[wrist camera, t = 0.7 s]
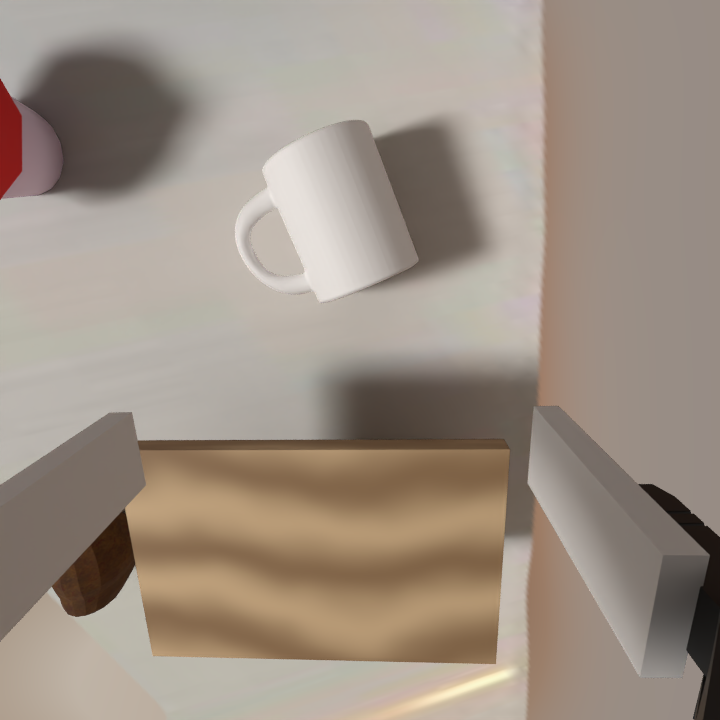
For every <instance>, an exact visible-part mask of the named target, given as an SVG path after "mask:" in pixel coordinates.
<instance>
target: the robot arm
mask: <svg viewBox="0 0 720 720" xmlns="http://www.w3.org/2000/svg"><path fill="white" fill-rule="evenodd" d="M528 485H529V487H530V488H531V490H532V492H533V493H534V495H535V497H536V499H537V500H538V502H539V504H540V506H541V507H542V509H543V511H544V512H545V514H546V516H547V518H548V519H549V521H550V523H551V525H552V526H553V528H554V530H555V531H556V533H557V535H558V537H559V538H560V540H561V542H562V544H563V545H564V547H565V549H566V550H567V552H568V554H569V556H570V557H571V559H572V561H573V563H574V564H575V566H576V568H577V569H578V571H579V573H580V575H581V576H582V578H583V580H584V581H585V583H586V585H587V587H588V588H589V590H590V592H591V594H592V595H593V597H594V599H595V600H596V602H597V604H598V606H599V607H600V609H601V611H602V613H603V614H604V616H605V618H606V620H607V621H608V623H609V625H610V626H611V628H612V630H613V632H614V633H615V635H616V637H617V638H618V640H619V642H620V644H621V645H622V647H623V649H624V650H625V652H626V654H627V656H628V657H629V659H630V661H631V663H632V665H633V666H634V668H635V670H636V671H637V673H638V675H639V676H640V677H644V678H682V677H683V673H684V668H685V664H686V660H687V655H688V653H689V654H690V656H691V657H692V659H693V660H694V661H695V663H696V664H697V666H698V667H699V668H700V670H701V671H702V672H703V674H704V675H703V679H702V683H701V688H700V691H699V696H698V700H697V704H696V708H695V712H694V716H693V719H694V720H720V537H719V536H718V535H717V534H715V533H714V532H713V531H712V530H711V529H710V528H709V527H708V526H704V523H703V522H702V521H701V520H700V519H699V518H698V517H697V516H696V515H695V514H691V512H690V510H689V509H688V508H687V507H685V505H683V504H682V503H681V502H680V501H679V500H678V499H677V498H676V497H675V496H673V495H671V494H669V493H667V492H665V491H664V490H662V489H660V488H658V487H656V486H655V485H652V484H637V483H636V482H635V481H634V480H633V479H632V478H631V477H630V476H629V475H628V474H627V473H626V472H625V471H624V470H623V469H622V468H621V467H620V466H619V465H618V464H617V463H616V462H615V461H614V460H613V459H612V458H611V457H610V456H609V455H608V454H607V453H606V452H605V451H603V449H602V448H601V447H600V446H599V445H598V444H597V443H596V442H594V441H593V440H592V439H591V438H590V437H589V436H588V435H587V434H586V433H585V432H584V431H583V430H582V429H581V428H580V427H579V426H578V425H577V424H576V423H575V422H574V421H573V420H572V419H571V418H570V417H569V416H568V415H567V414H566V413H565V412H564V411H563V410H562V409H561V408H560V407H559V406H534V408H533V421H532V433H531V445H530V458H529V470H528ZM145 486H146V481H145V476H144V471H143V466H142V461H141V456H140V451H139V446H138V441H137V435H136V430H135V425H134V420H133V415H132V412H119V413H108V414H107V415H105V416H104V417H102V418H101V419H99V420H98V421H96V422H95V423H93V424H92V425H90V426H89V427H87V428H86V429H84V430H83V431H81V432H80V433H78V434H77V435H75V436H74V437H72V438H71V439H69V440H68V441H66V442H65V443H63V444H62V445H60V446H59V447H57V448H56V449H54V450H53V451H51V452H50V453H48V454H47V455H45V456H44V457H42V458H41V459H39V460H38V461H36V462H35V463H33V464H32V465H30V466H28V467H27V468H25V469H24V470H22V471H21V472H19V473H18V474H16V475H15V476H13V477H12V478H10V479H9V480H7V481H6V482H4V483H3V484H1V485H0V641H1V640H2V639H3V638H4V637H5V636H6V635H7V634H8V632H10V630H11V629H12V628H13V627H14V626H15V625H16V624H17V623H18V622H19V621H20V620H21V619H22V618H23V617H24V616H25V614H26V613H27V612H28V611H29V610H30V609H31V608H32V607H33V606H34V605H35V604H36V603H37V602H38V600H39V599H40V598H41V597H42V596H43V595H44V594H45V593H46V592H47V591H48V590H49V589H50V588H51V587H52V585H53V584H54V583H55V582H56V581H57V580H58V579H59V578H60V577H61V576H62V575H63V574H64V573H65V572H66V570H67V569H68V568H69V567H70V566H71V565H72V564H73V563H74V562H75V561H76V560H77V559H78V558H79V557H80V555H81V554H82V553H83V552H84V551H85V550H86V549H87V548H88V547H89V546H90V545H91V544H92V543H93V542H94V540H95V539H96V538H97V537H98V536H99V535H100V534H101V533H102V532H103V531H104V530H105V529H106V528H107V527H108V525H109V524H110V523H111V522H112V521H113V520H114V519H115V518H116V517H117V516H118V515H119V514H120V513H121V512H122V510H123V509H124V508H125V507H126V506H127V505H128V504H129V503H130V502H131V501H132V500H133V499H134V498H135V497H136V495H137V494H138V493H139V492H140V491H141V490H142V489H143V488H144V487H145Z"/></svg>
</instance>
